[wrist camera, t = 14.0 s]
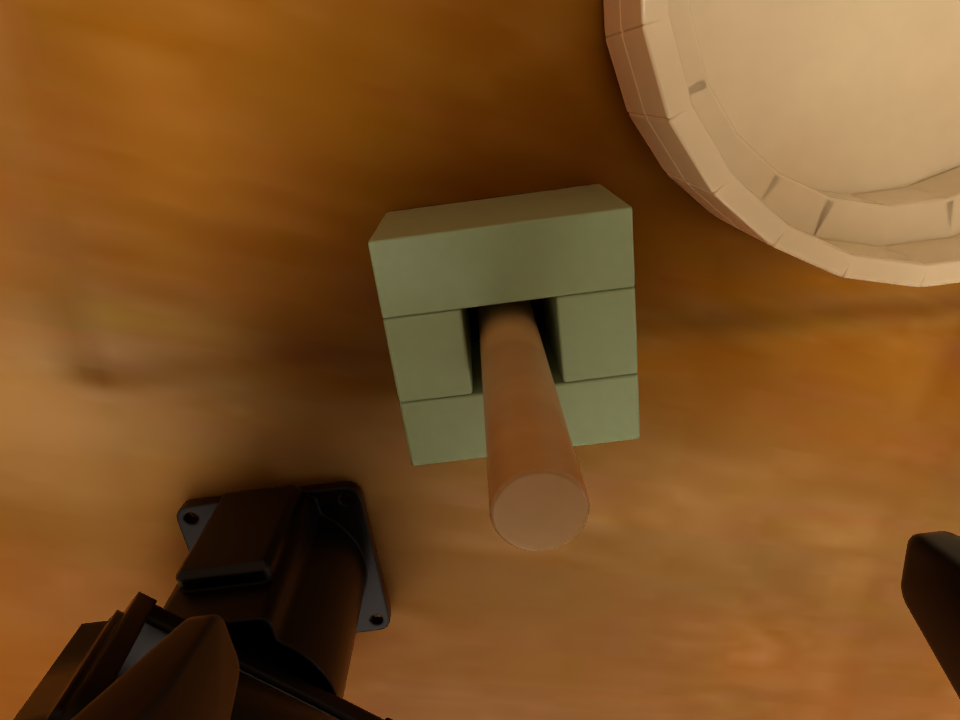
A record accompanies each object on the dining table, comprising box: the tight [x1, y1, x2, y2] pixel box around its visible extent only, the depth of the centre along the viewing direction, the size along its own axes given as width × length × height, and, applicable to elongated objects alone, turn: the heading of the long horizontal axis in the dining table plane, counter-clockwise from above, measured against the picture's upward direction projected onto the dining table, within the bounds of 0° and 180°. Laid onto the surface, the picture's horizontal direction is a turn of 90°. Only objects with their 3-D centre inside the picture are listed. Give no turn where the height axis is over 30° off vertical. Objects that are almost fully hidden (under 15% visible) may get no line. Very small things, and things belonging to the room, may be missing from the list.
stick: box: [478, 300, 589, 551], centre depth 15 cm, size 2×2×11 cm
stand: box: [368, 184, 640, 466], centre depth 19 cm, size 6×6×4 cm
